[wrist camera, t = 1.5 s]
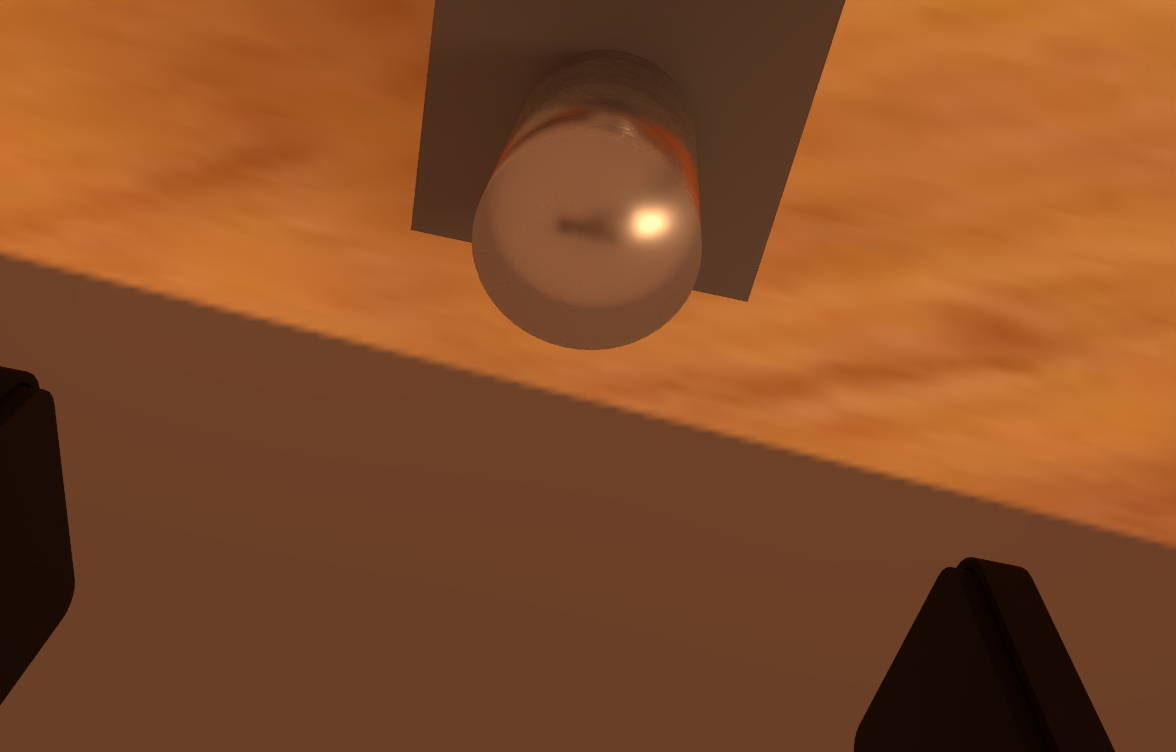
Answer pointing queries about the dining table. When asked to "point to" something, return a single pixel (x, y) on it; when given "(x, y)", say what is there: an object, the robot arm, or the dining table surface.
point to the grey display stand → (667, 39)
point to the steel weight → (594, 205)
